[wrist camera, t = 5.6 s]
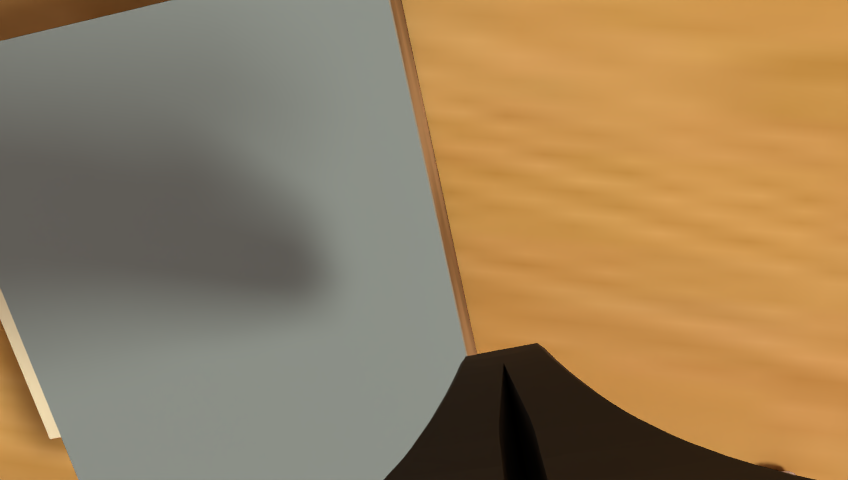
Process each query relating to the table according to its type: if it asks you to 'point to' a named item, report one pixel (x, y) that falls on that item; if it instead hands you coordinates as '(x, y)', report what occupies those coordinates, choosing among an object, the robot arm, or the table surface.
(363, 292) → the lid
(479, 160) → the table surface
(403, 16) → the box
